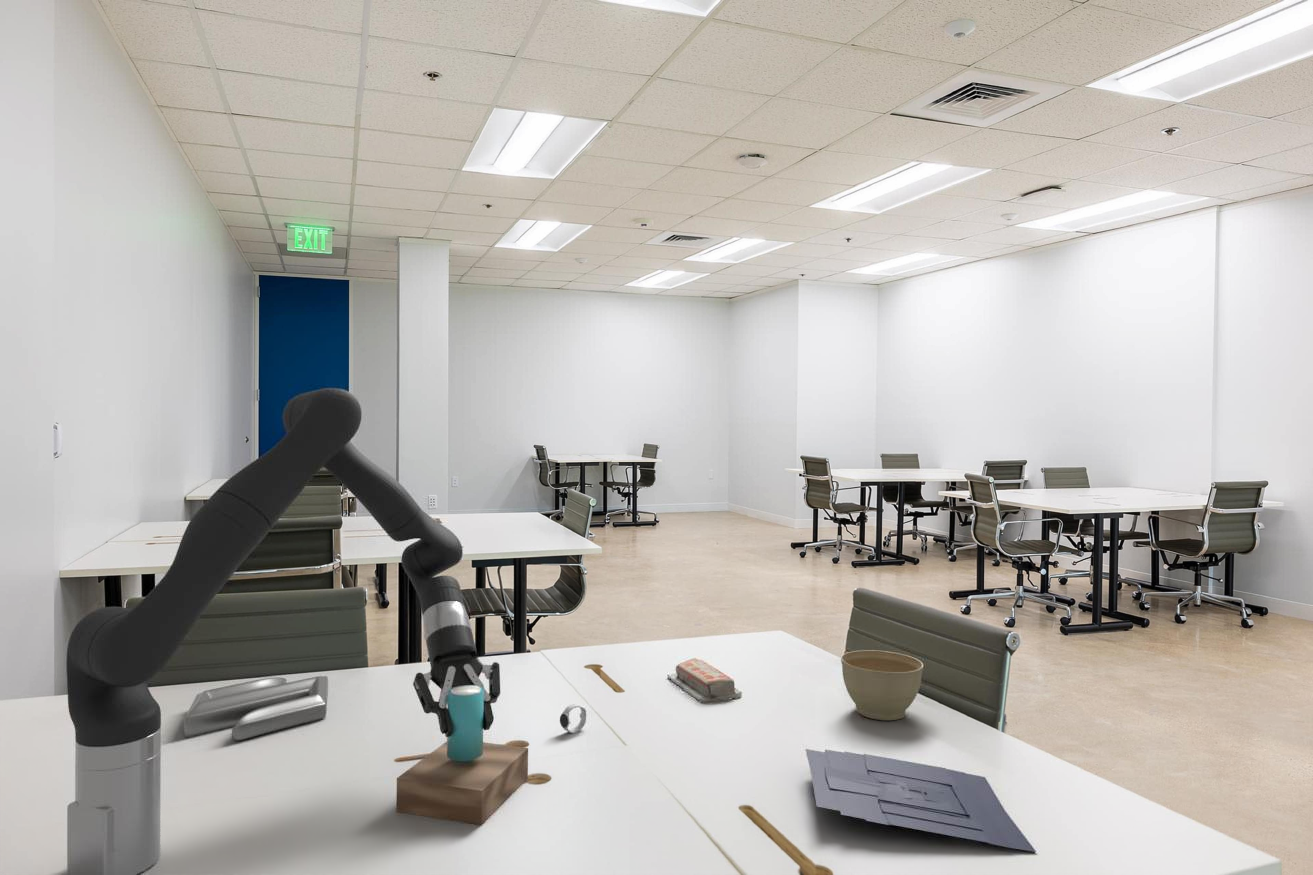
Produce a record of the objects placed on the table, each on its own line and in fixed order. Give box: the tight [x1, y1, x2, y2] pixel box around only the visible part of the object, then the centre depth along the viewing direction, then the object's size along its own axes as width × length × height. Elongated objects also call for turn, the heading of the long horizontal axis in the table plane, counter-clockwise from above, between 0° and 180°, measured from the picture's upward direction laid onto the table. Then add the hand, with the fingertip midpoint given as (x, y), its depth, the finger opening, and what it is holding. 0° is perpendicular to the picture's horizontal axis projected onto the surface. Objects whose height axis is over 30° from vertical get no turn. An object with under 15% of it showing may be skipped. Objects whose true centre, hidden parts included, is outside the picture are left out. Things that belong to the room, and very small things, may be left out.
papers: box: [805, 748, 1037, 853], centre depth 124 cm, size 24×30×4 cm
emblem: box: [183, 675, 329, 741], centre depth 158 cm, size 28×5×28 cm
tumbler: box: [446, 685, 485, 761], centre depth 126 cm, size 6×6×10 cm
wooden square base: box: [395, 741, 529, 826], centre depth 126 cm, size 16×14×5 cm
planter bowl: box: [840, 649, 924, 721], centre depth 164 cm, size 16×16×11 cm
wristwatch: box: [559, 703, 587, 734], centre depth 152 cm, size 3×5×5 cm, turn 135°
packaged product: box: [667, 657, 743, 704], centre depth 179 cm, size 18×5×10 cm
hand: (469, 730), depth 124 cm, fingers closed on tumbler, 5 cm apart
